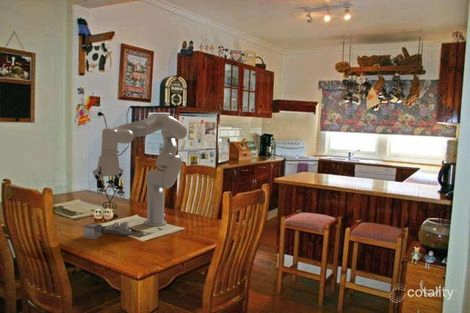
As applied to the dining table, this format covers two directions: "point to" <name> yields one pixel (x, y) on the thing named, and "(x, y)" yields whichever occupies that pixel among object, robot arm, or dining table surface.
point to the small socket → (117, 225)
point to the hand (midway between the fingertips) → (107, 187)
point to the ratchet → (118, 230)
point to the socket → (92, 231)
